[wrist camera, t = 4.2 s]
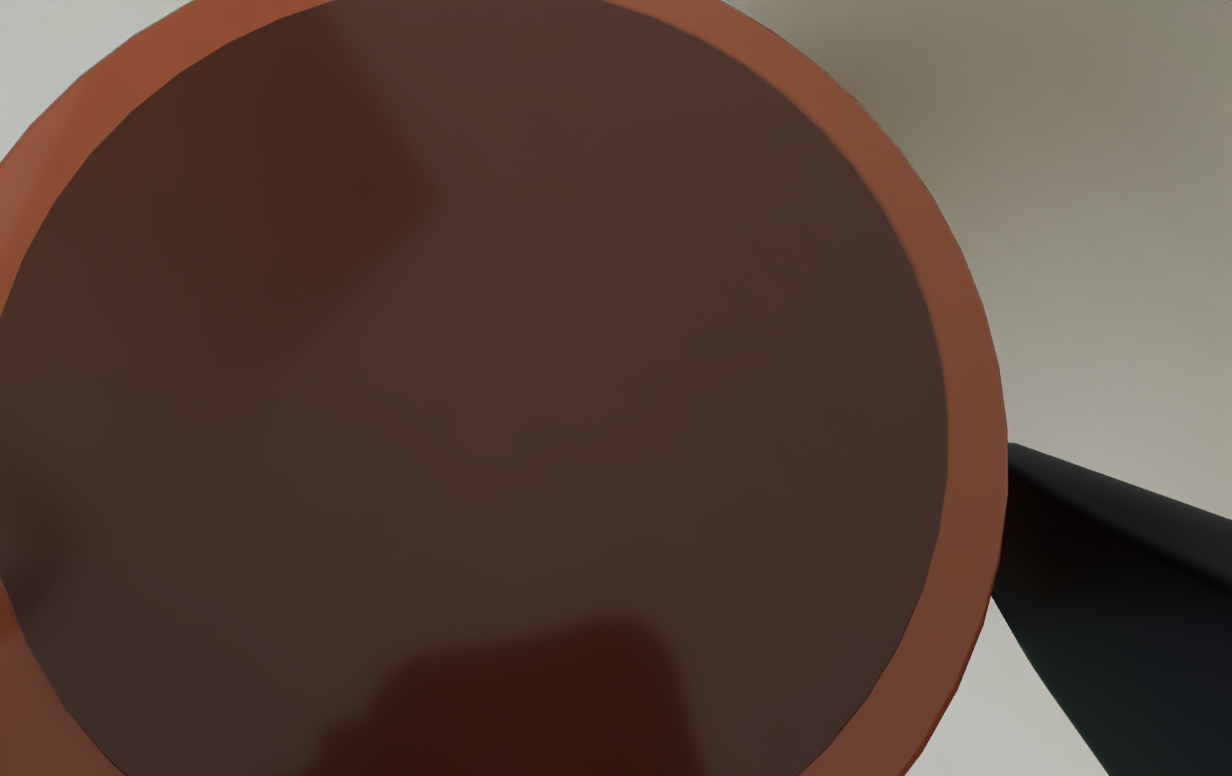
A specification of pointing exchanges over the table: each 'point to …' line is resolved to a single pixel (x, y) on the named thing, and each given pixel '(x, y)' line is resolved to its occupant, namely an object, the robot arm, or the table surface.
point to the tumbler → (482, 404)
